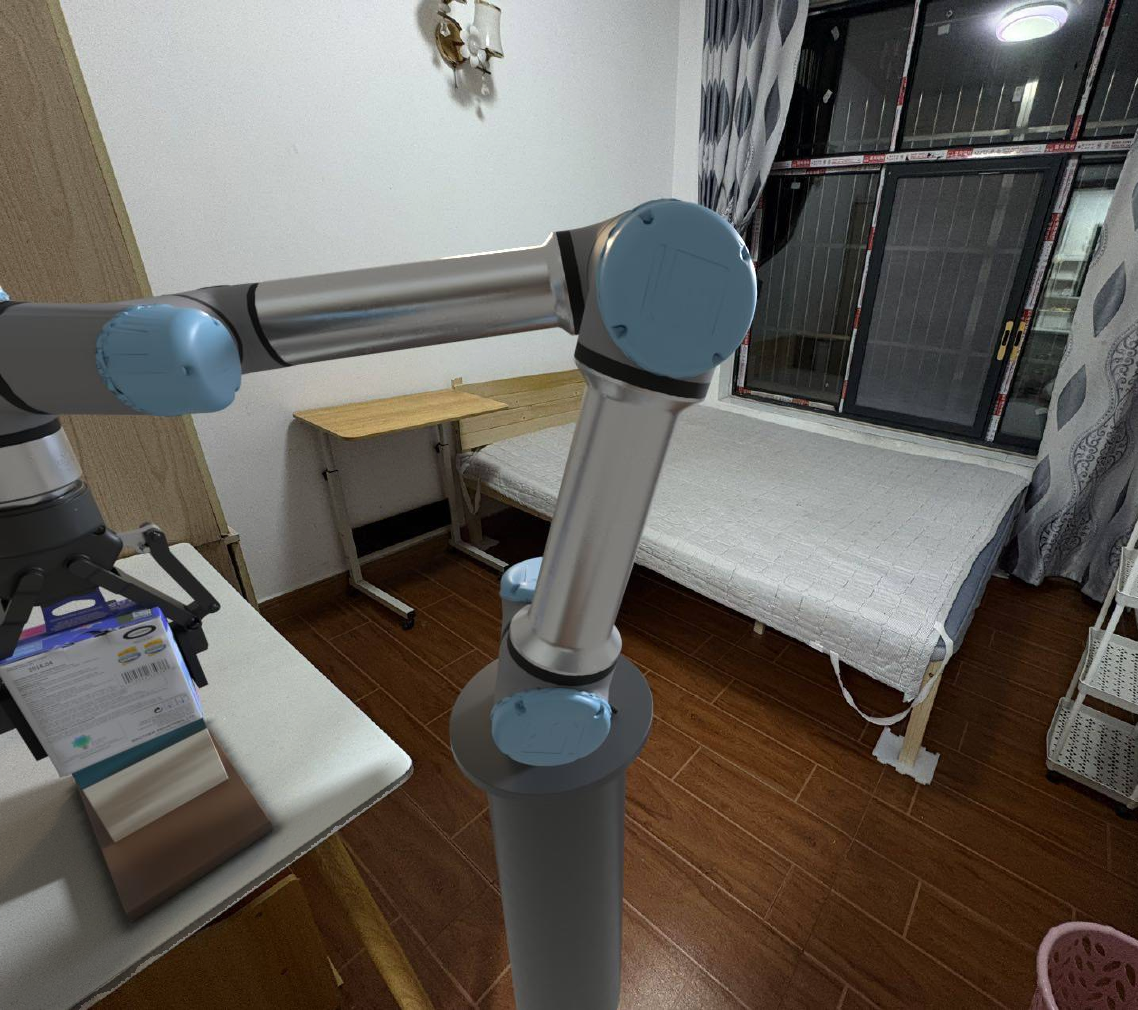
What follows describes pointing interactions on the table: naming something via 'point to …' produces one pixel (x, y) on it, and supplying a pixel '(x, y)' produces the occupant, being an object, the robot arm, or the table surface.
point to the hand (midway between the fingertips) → (126, 712)
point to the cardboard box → (168, 814)
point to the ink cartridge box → (100, 681)
